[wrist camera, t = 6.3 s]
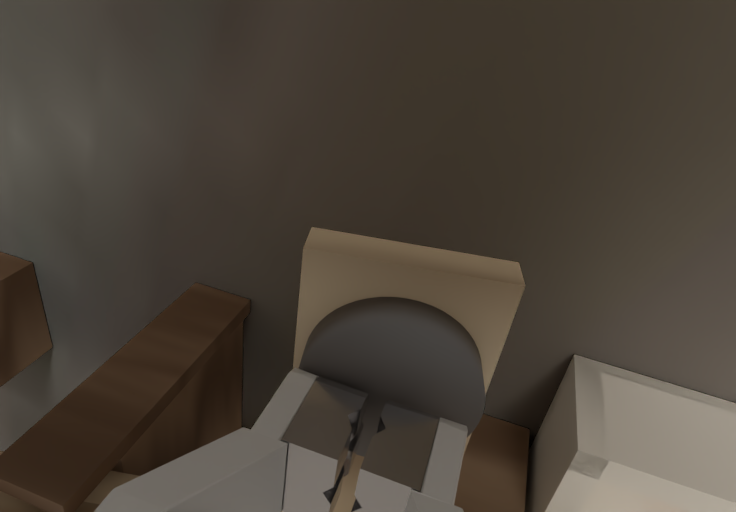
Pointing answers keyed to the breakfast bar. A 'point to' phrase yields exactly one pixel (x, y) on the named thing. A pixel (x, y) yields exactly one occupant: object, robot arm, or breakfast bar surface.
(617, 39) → the breakfast bar surface
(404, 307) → the lever
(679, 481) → the dish
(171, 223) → the breakfast bar surface
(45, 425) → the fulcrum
